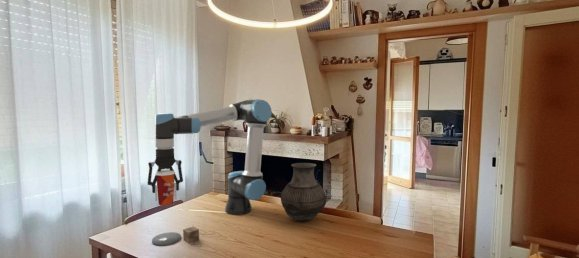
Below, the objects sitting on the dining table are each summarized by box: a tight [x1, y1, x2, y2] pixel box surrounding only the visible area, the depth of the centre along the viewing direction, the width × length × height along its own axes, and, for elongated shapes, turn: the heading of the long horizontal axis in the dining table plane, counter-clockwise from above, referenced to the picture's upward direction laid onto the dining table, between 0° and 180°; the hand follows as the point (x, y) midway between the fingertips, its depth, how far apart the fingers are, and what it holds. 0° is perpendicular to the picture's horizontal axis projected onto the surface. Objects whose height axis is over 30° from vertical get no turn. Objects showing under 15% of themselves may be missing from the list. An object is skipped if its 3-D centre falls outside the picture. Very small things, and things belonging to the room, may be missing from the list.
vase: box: [280, 162, 327, 222], centre depth 156 cm, size 25×25×30 cm
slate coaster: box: [151, 231, 182, 247], centre depth 131 cm, size 12×12×1 cm
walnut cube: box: [182, 226, 200, 244], centre depth 131 cm, size 5×5×5 cm
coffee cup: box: [154, 169, 176, 206], centre depth 130 cm, size 8×8×15 cm
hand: (165, 198), depth 130 cm, fingers closed on coffee cup, 7 cm apart
